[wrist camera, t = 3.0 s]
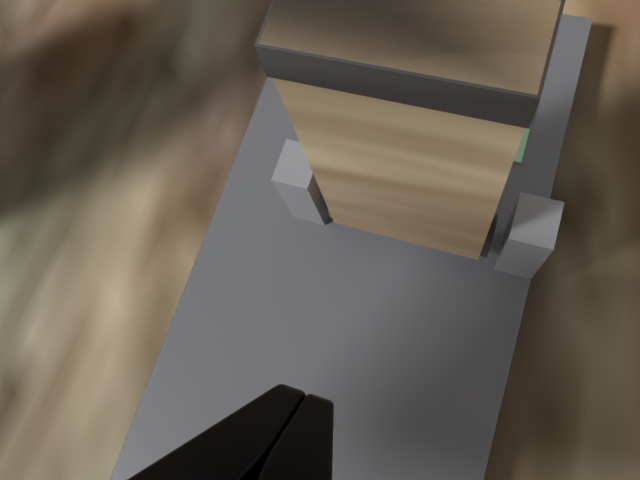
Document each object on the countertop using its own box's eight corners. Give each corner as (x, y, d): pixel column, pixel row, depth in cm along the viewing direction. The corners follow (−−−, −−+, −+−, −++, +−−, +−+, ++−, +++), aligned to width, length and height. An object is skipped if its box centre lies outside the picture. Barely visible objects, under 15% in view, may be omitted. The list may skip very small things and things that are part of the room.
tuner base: (418, 732, 14) (418, 840, 10) (88, 575, 16) (-6, 619, 12) (583, 39, 19) (623, -53, 15) (311, -4, 21) (289, -92, 17)
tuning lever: (483, 269, 15) (551, 101, 7) (330, 229, 16) (244, 44, 8) (496, 216, 16) (577, -1, 8) (346, 180, 17) (279, -43, 9)
